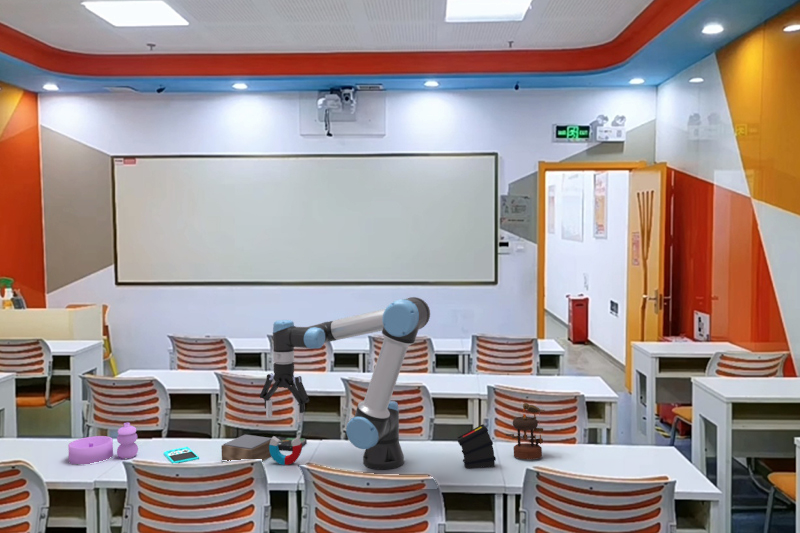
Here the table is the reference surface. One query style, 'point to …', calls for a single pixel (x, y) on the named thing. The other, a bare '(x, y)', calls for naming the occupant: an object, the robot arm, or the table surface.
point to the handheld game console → (181, 455)
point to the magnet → (283, 458)
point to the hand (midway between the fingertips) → (284, 419)
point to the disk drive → (288, 443)
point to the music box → (526, 424)
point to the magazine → (477, 448)
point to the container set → (103, 447)
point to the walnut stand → (246, 448)
